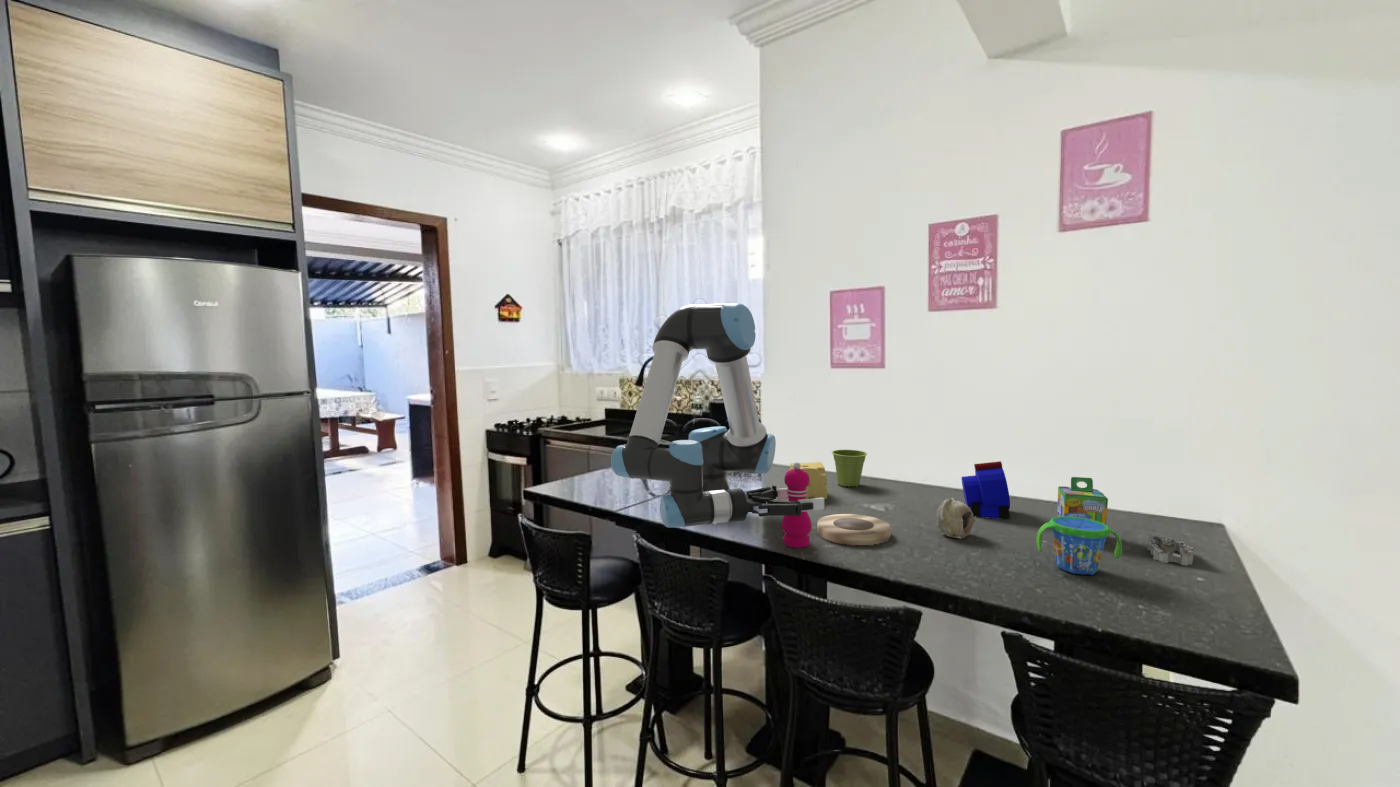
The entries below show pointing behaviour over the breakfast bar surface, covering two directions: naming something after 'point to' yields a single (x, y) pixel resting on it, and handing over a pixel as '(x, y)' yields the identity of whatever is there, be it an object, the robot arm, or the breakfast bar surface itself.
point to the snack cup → (1078, 543)
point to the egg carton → (1169, 550)
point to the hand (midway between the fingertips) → (812, 497)
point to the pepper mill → (801, 524)
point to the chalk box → (1082, 501)
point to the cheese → (815, 479)
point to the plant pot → (849, 466)
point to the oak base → (853, 529)
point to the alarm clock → (987, 491)
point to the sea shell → (955, 518)
